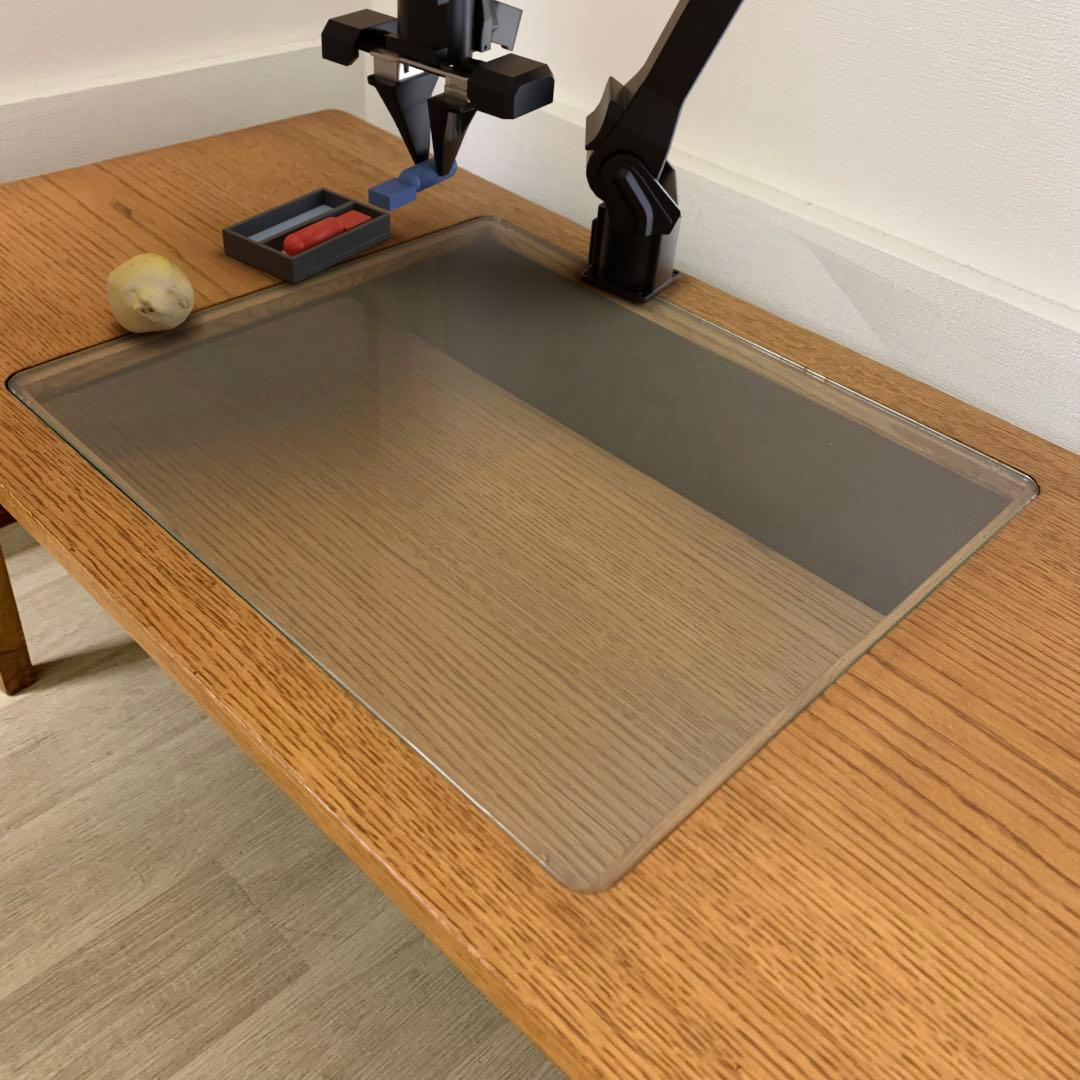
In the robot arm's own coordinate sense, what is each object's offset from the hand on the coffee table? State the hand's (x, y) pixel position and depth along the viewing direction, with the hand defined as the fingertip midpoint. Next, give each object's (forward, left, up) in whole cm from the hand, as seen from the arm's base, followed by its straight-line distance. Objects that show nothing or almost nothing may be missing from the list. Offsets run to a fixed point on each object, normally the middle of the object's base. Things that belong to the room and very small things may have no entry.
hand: (433, 171), depth 92 cm
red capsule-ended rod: (+8, +5, -7) cm, 11 cm away
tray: (+10, +5, -8) cm, 13 cm away
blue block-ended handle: (0, +2, -1) cm, 2 cm away
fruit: (+10, +22, -8) cm, 25 cm away
